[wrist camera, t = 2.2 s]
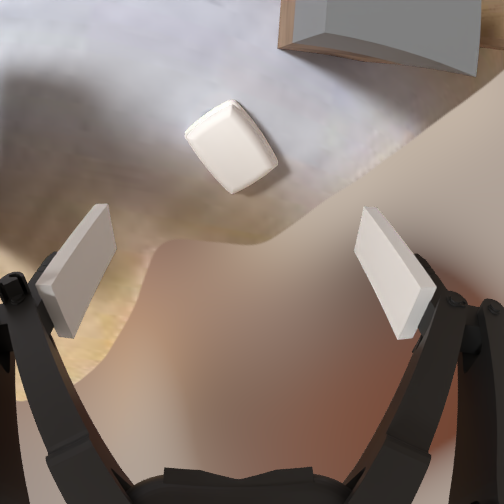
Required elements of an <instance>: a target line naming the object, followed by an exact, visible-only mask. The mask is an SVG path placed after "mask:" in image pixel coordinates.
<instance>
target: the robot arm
mask: <svg viewBox="0 0 504 504" xmlns="http://www.w3.org/2000/svg"><path fill="white" fill-rule="evenodd" d="M116 250H117V247H116V242H115V238H114V233H113V227H112V222H111V217H110V211H109V205H108V204H95V205H94V206H93V207H92V208H91V210H90V211H89V212H88V213H87V215H86V216H85V217H84V218H83V220H82V221H81V222H80V223H79V225H78V226H77V227H76V228H75V230H74V231H73V232H72V234H71V235H70V236H69V238H68V239H67V240H66V242H65V243H64V244H63V246H62V247H61V248H60V250H59V251H58V252H53V253H52V254H50V255H49V256H48V257H47V258H46V259H45V260H44V261H43V263H42V264H41V266H40V267H39V268H38V270H37V272H36V273H35V274H34V275H33V277H32V278H31V280H30V281H29V283H28V284H27V282H26V279H25V277H24V275H23V273H21V272H12V273H9V274H7V275H5V276H4V277H2V278H1V279H0V298H1V300H2V302H3V304H0V504H30V502H29V497H28V492H27V487H26V482H25V477H24V471H23V465H22V459H21V452H20V444H19V435H18V425H17V413H16V394H15V359H16V363H17V366H18V370H19V374H20V377H21V380H22V384H23V387H24V390H25V393H26V396H27V399H28V402H29V405H30V408H31V411H32V414H33V416H34V419H35V422H36V424H37V427H38V430H39V432H40V434H41V437H42V439H43V442H44V444H45V446H46V449H47V451H48V456H46V462H47V465H48V468H49V470H50V472H51V474H52V476H53V478H54V480H55V482H56V484H57V486H58V488H59V490H60V492H61V494H62V496H63V498H64V500H65V501H66V503H67V504H411V503H412V501H413V499H414V497H415V495H416V493H417V491H418V489H419V487H420V484H421V482H422V480H423V478H424V475H425V473H426V471H427V469H428V466H429V463H430V460H431V455H430V454H429V453H428V450H429V447H430V445H431V442H432V439H433V437H434V434H435V432H436V429H437V426H438V423H439V421H440V418H441V415H442V412H443V409H444V405H445V402H446V399H447V396H448V393H449V389H450V386H451V382H452V379H453V375H454V371H455V368H456V364H457V362H458V415H457V435H456V447H455V457H454V467H453V475H452V482H451V489H450V495H449V503H448V504H504V307H503V306H502V305H501V304H500V303H498V302H497V301H495V300H493V299H484V301H483V302H482V304H481V305H480V307H475V306H470V305H468V304H467V301H466V300H465V299H464V298H463V297H462V296H461V295H460V294H458V293H456V292H453V291H448V290H447V289H446V288H445V286H444V285H443V283H442V282H441V280H440V279H439V277H438V276H437V275H436V274H435V272H434V271H433V269H432V268H431V266H430V265H429V264H428V263H427V261H426V260H425V259H423V258H422V257H421V256H420V255H419V254H413V253H412V251H411V250H410V249H409V248H408V246H407V245H406V243H405V242H404V241H403V239H402V238H401V237H400V236H399V234H398V233H397V232H396V230H395V229H394V228H393V227H392V225H391V224H390V223H389V222H388V220H387V219H386V218H385V217H384V215H383V214H382V213H381V212H380V210H379V209H378V208H377V207H369V206H364V208H363V213H362V217H361V222H360V227H359V231H358V236H357V240H356V244H355V248H354V252H355V254H356V256H357V258H358V259H359V261H360V263H361V265H362V267H363V269H364V271H365V273H366V275H367V277H368V279H369V281H370V283H371V285H372V287H373V289H374V291H375V293H376V295H377V297H378V299H379V301H380V303H381V305H382V308H383V310H384V312H385V314H386V316H387V318H388V320H389V322H390V325H391V327H392V329H393V331H394V333H395V335H396V338H397V340H400V339H408V338H413V336H414V334H415V332H416V330H417V328H419V330H420V333H421V336H420V338H419V340H418V342H417V344H416V345H415V347H414V349H413V351H412V353H413V355H412V357H411V360H410V362H409V364H408V367H407V369H406V371H405V373H404V376H403V378H402V380H401V382H400V384H399V387H398V389H397V391H396V393H395V395H394V397H393V399H392V401H391V403H390V405H389V407H388V409H387V411H386V413H385V415H384V417H383V419H382V421H381V423H380V424H379V426H378V428H377V430H376V432H375V434H374V435H373V437H372V439H371V441H370V442H369V444H368V446H367V448H366V449H365V451H364V453H363V454H362V456H361V458H360V459H359V461H358V463H357V464H356V466H355V467H354V469H353V470H352V471H351V473H350V474H349V475H348V477H347V478H346V479H345V481H344V482H343V483H341V482H339V481H336V480H334V479H332V478H329V477H326V476H321V475H317V474H313V470H312V467H306V468H305V467H304V468H294V469H280V470H274V471H270V472H267V473H263V474H259V475H256V476H252V477H248V478H244V479H233V478H229V477H225V476H220V475H216V474H213V473H209V472H205V471H201V470H189V469H175V468H164V475H159V476H155V477H151V478H149V479H146V480H143V481H141V482H139V483H137V484H136V485H133V483H132V482H131V481H130V480H129V478H128V477H127V476H126V474H125V473H124V472H123V471H122V469H121V468H120V466H119V465H118V464H117V462H116V460H115V459H114V457H113V456H112V454H111V453H110V451H109V449H108V448H107V446H106V445H105V443H104V441H103V440H102V438H101V436H100V434H99V433H98V431H97V429H96V428H95V426H94V424H93V422H92V420H91V419H90V417H89V415H88V413H87V411H86V409H85V407H84V405H83V404H82V402H81V400H80V398H79V396H78V394H77V392H76V390H75V388H74V386H73V383H72V381H71V379H70V377H69V375H68V373H67V370H66V368H65V366H64V364H63V361H62V359H61V357H60V354H59V352H58V350H57V347H56V345H55V342H54V340H53V338H52V336H51V332H52V330H53V328H55V330H56V332H57V334H58V336H59V337H65V338H73V339H74V337H75V335H76V332H77V330H78V328H79V326H80V323H81V321H82V319H83V317H84V314H85V312H86V310H87V308H88V306H89V304H90V301H91V299H92V297H93V295H94V293H95V291H96V289H97V287H98V285H99V283H100V281H101V279H102V277H103V275H104V273H105V271H106V269H107V267H108V265H109V263H110V261H111V259H112V257H113V255H114V253H115V251H116Z"/></svg>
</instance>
